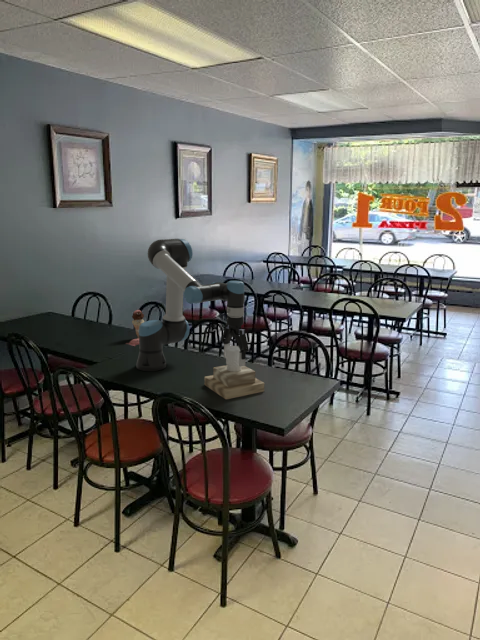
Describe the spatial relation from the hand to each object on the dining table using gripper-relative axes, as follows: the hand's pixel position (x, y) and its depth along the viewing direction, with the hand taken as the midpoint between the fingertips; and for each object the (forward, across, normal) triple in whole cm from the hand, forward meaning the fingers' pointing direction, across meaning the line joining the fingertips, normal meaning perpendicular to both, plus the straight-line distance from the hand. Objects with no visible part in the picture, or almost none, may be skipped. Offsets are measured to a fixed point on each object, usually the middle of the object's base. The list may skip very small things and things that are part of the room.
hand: (234, 361), depth 227 cm
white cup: (+4, 0, 0) cm, 4 cm away
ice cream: (+13, -95, -12) cm, 96 cm away
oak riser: (+13, 0, 0) cm, 13 cm away
